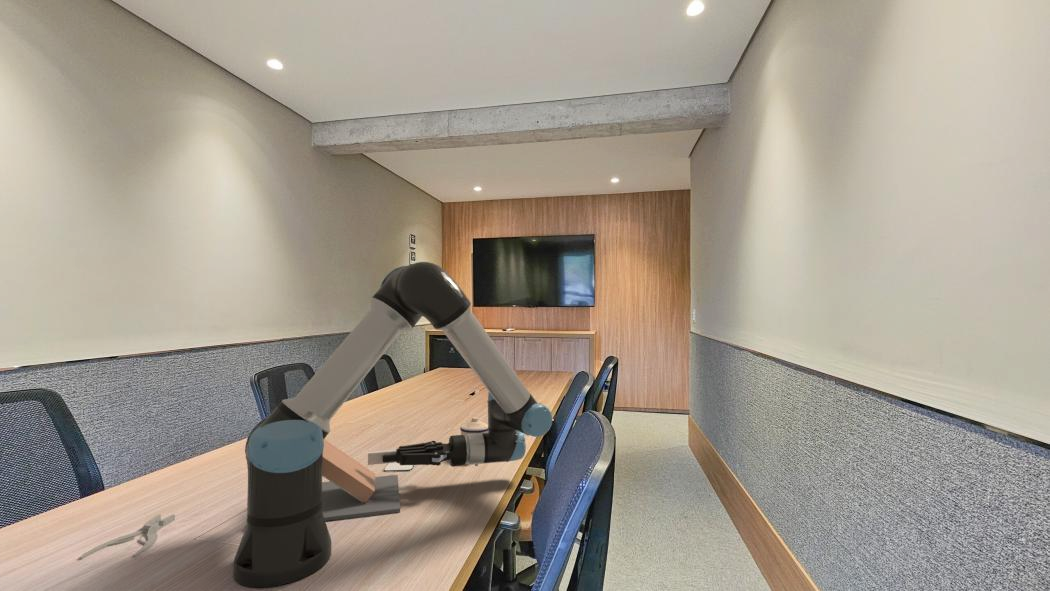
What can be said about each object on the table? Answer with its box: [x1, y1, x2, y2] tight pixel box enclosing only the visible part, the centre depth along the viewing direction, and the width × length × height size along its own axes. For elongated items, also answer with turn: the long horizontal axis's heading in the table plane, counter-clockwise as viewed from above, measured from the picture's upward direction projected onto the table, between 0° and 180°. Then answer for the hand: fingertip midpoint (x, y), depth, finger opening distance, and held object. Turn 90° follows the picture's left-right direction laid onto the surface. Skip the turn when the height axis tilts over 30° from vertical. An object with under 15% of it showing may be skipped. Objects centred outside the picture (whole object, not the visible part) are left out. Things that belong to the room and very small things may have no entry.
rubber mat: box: [244, 474, 401, 529], centre depth 105 cm, size 22×30×1 cm
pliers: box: [78, 514, 176, 561], centre depth 88 cm, size 10×2×15 cm
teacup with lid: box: [459, 416, 488, 437], centre depth 138 cm, size 12×9×12 cm
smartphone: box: [383, 463, 415, 472], centre depth 133 cm, size 8×1×16 cm
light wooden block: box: [322, 438, 376, 503], centre depth 106 cm, size 12×3×18 cm
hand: (368, 458), depth 109 cm, fingers closed
